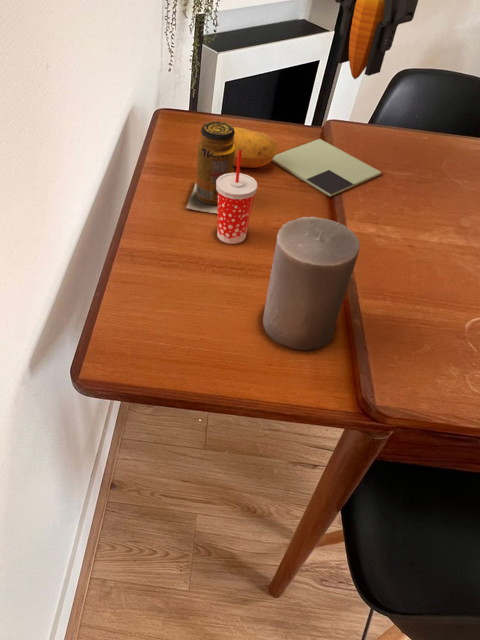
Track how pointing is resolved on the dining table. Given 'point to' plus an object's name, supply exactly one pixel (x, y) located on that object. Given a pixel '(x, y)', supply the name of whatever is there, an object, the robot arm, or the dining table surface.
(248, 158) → the potato
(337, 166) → the corner mat
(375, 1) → the carrot
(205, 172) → the condiment
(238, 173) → the beverage cup
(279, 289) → the pillar candle
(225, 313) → the dining table surface
